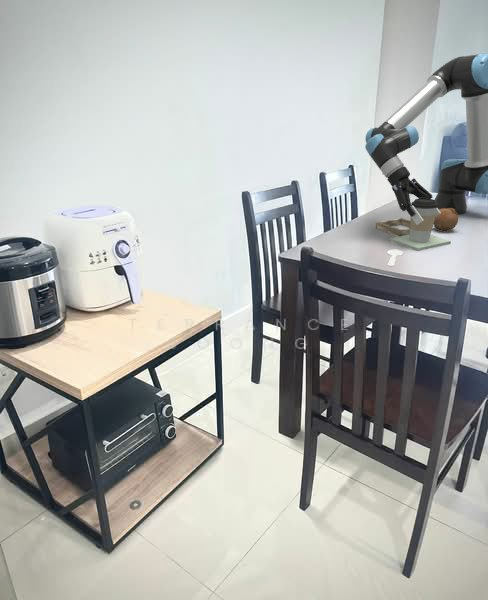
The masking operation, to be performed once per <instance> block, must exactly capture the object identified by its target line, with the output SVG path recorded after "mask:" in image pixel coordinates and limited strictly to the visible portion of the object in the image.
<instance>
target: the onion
mask: <svg viewBox="0 0 488 600" xmlns="http://www.w3.org/2000/svg"><path fill="white" fill-rule="evenodd" d="M439 211H440V212H441V213H440V214H439V215H438V216H436V217H435V220H434V224H433V228H435V230H436V231H441V232H449V231H451V230H453V229H454V228H456V226H457V225H458V222H459V217H458V216H459V215H458V214H457V212H456V210H455V209H453V208H443V209H439Z"/></svg>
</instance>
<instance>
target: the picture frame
mask: <svg viewBox="0 0 488 600" xmlns="http://www.w3.org/2000/svg"><path fill="white" fill-rule="evenodd" d="M395 226H404V227H407V228H403V229H402V228H401V229H400V228H397V227H395ZM375 229H376V230H377V231H378V230H379V231H382V232H385V233H387V234H390V235H394V236H395V237H399V236H404V235H409V234H410V219H406V218H404V217H403V218H402V217H400V218H395V219H387V220H382V221H377V222H375Z"/></svg>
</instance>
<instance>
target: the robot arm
mask: <svg viewBox="0 0 488 600" xmlns="http://www.w3.org/2000/svg"><path fill="white" fill-rule="evenodd" d="M456 90H460V97H461V98H462V99H463V100H464V101H465V113H466V114H465V115H466V117H465V118H466V137H467V138H466V141H467V142H466V143H467V144H466V145H467V158H461V159H460V158H459V159H447V160H445V161H443V162H442V165H441V169H440V175H439V182H438V187H437V188H438V190H437V194H436V195H435V198H434V200H435V202H436V203H438V205H437V206H438V207H437V209H436V216H438V215H439V214H440V213H441V212H440V211H439V209H443V208H453V209H455V210H456V212H457V215H461V214H465V213H466V212H467V209H468V206H467V198H466V193H467V192H471V193H475V194H477V195H480V194H481V195H488V53H478V54H471V55H463V56H458V57H456V58H453V59H451V60H449V61H447V62H446V63H444V64H443V65H441V66H440V67H439V68H438V69H437V70H435V71H434V72H433V73H432V74H431V75H430V76H428V78H427V79H426V83H425V84H424V85H422V86H421V88H419V89H418V91H416V92H415V93H414V94H413V95H412V96H411V97H410V98H408V100H407V101H406V102H404V103H403V104H402V105H401V106H400V107H399V108H398V109H396V111H395V112H394V113H392V114H391V115H390V116H389V117H388V118H387V119H386V120H385V121H384V122H383V123H381V125H379V126H378V127H373V128H370V129H369V130H368V131H367V132H366V134H365V142H366V144H365V150H366V152H367V153H368V156H369V157H370V158H371V159H372V161H373V162H374V163H375V165H376V166H377V167H378V169H379V170H380V171H381V173H382V175H383V176H384V177H385V179H387V181H388V183H389V184H390V186H391V189H392V192H393V193H394V196H395V198H396V200H397V204H398V205H399V206H398V207H399V209H400V210H402V212H407V214H408V215H409V216H411V218H412V219H413V221H414V222H415V223H416V225H418V224H419V223H421V222H422V221H423V219H422V217H421V216H420V214H419V213H418V212H417V210H416V209H415V207H414V206H413V205H412V206H411V203H412V202H411V197H410V195H413V196H414V197H416V198H417V199H419V198H421V197H426V198H429V199H433V197H434V196H433V195H432V193H430V192H429V191H428V190H427V189H426V188H425V187H423V186H422V185H421V184H420V183H419V182H418V181H417V180H416V179H415V178H412V179H410V178H409V177H410V175H411V173H410V171H409V169H408V168H407V167H406V166H404V165H405V164H404V162H403V160H401V159H400V157H399V155H398V154H401V153H403V152H405V151H406V150H409V149H411V148H413V147H414V146H415V145H417V143H419V140H420V135H419V131H418V130H417V128H416V127H415V126H413V125H410V124H411V123H413V122H414V121H415V120H416V119H417V118H418V117H419V116H420V115H422V114H423V112H424V111H425V110H427V109H428V108H429V107H430V106H431V105H432V104H433V103H434V102H436V100H438V98H442V97H445V96H446V95H447V94H449V93H450V92H452V91H456ZM436 216H435V217H436Z"/></svg>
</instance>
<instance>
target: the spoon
mask: <svg viewBox="0 0 488 600" xmlns="http://www.w3.org/2000/svg"><path fill="white" fill-rule="evenodd" d="M386 254H387V255H389V256H390V259H389V260H388V261H387V262H388V263H387V264H386V265H387V266H388V267H395V266H396V259H397V257H401V256H403V254H404V251H403V250H401V249H396V248H394V249H389V250H387V252H386Z"/></svg>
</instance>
